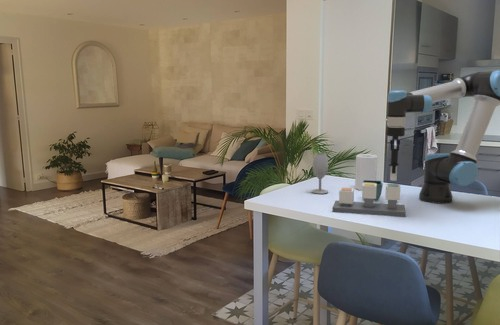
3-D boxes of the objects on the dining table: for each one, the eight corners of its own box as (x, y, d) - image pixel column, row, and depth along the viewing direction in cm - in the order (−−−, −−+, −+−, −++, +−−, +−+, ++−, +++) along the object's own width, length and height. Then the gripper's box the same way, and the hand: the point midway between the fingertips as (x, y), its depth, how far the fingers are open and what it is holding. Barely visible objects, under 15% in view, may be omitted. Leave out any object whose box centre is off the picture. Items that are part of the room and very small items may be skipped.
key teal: (399, 197, 192) (400, 183, 191) (399, 200, 186) (400, 186, 185) (385, 196, 194) (385, 183, 193) (385, 199, 188) (386, 185, 187)
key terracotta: (353, 200, 198) (353, 187, 197) (352, 203, 193) (353, 190, 192) (340, 199, 200) (340, 187, 199) (339, 203, 194) (339, 189, 193)
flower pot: (382, 202, 207) (382, 184, 206) (363, 201, 209) (363, 183, 208) (380, 198, 216) (381, 180, 214) (362, 197, 218) (362, 180, 216)
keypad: (404, 208, 196) (405, 194, 194) (405, 217, 183) (406, 201, 182) (335, 204, 205) (335, 190, 203) (332, 211, 192) (332, 196, 191)
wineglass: (330, 191, 230) (331, 153, 227) (324, 195, 223) (325, 155, 219) (315, 189, 235) (316, 152, 231) (309, 193, 228) (309, 154, 224)
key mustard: (376, 195, 195) (376, 182, 194) (375, 198, 189) (376, 185, 188) (362, 194, 197) (363, 181, 196) (361, 198, 191) (362, 184, 190)
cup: (354, 186, 243) (355, 154, 239) (374, 186, 241) (375, 154, 238) (356, 190, 232) (357, 157, 229) (377, 191, 230) (378, 157, 227)
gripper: (386, 125, 192) (384, 177, 196) (386, 127, 180) (384, 182, 184) (404, 125, 190) (401, 177, 194) (405, 128, 178) (402, 183, 181)
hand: (393, 180), depth 189 cm, fingers closed
